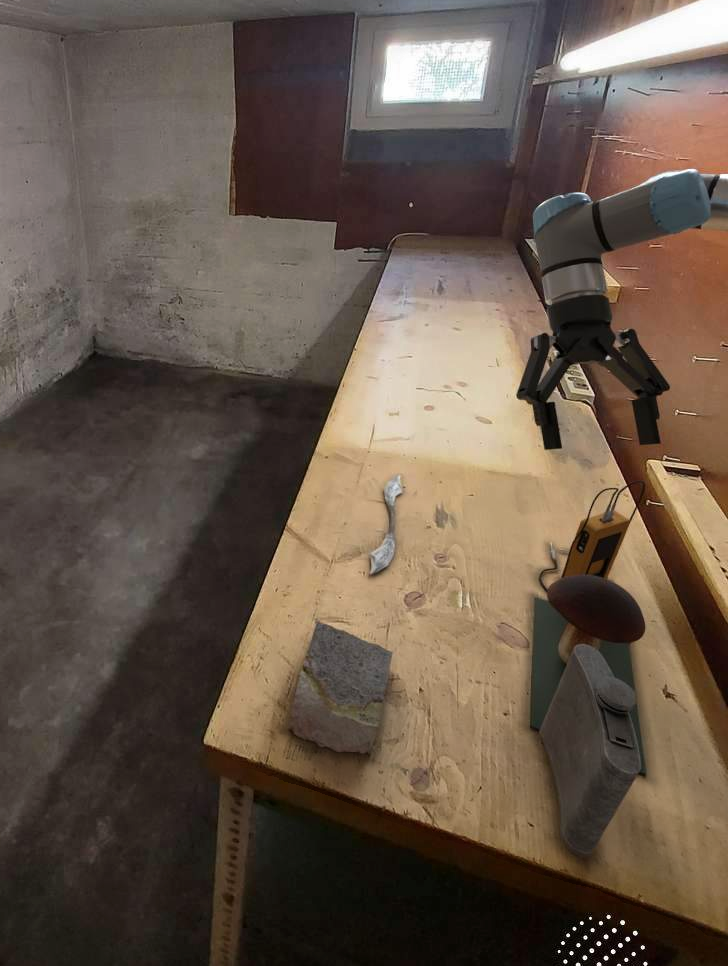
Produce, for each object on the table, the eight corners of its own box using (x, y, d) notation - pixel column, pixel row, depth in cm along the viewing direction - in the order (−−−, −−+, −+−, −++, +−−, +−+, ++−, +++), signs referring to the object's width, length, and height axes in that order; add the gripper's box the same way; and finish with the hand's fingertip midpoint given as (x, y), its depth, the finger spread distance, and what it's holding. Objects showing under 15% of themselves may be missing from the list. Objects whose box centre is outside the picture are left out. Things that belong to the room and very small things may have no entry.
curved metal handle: (367, 575, 96) (397, 582, 94) (367, 572, 95) (397, 579, 94) (380, 471, 122) (403, 475, 121) (380, 469, 122) (404, 473, 120)
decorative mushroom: (514, 630, 85) (539, 555, 78) (589, 630, 84) (620, 554, 78) (555, 699, 75) (587, 619, 68) (640, 699, 74) (680, 619, 68)
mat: (625, 627, 85) (626, 626, 85) (645, 775, 66) (646, 774, 66) (534, 598, 90) (535, 596, 90) (529, 727, 72) (530, 725, 72)
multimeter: (569, 537, 102) (602, 445, 94) (623, 576, 94) (664, 478, 85) (505, 557, 98) (533, 463, 90) (555, 599, 90) (591, 499, 81)
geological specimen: (394, 643, 78) (378, 739, 65) (387, 673, 80) (370, 771, 68) (318, 616, 82) (289, 701, 69) (313, 646, 84) (285, 733, 72)
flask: (570, 732, 71) (614, 635, 62) (604, 864, 59) (664, 766, 51) (537, 723, 72) (576, 627, 64) (564, 851, 60) (617, 754, 52)
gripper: (640, 304, 85) (667, 444, 82) (478, 312, 85) (498, 452, 82) (683, 288, 78) (715, 440, 74) (505, 296, 78) (528, 449, 74)
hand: (601, 447), depth 78 cm, fingers open, 13 cm apart
